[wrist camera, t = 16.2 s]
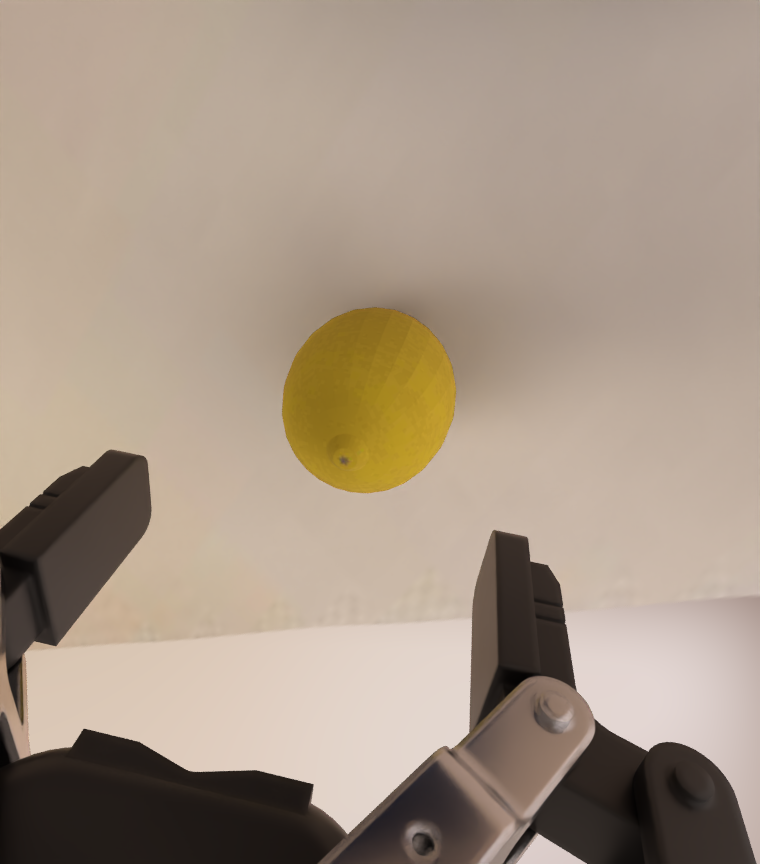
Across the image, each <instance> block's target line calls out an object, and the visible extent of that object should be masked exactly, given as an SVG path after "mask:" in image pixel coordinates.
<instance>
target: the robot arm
mask: <svg viewBox="0 0 760 864" xmlns="http://www.w3.org/2000/svg"><path fill="white" fill-rule="evenodd" d="M150 518H151V497H150V485H149V473H148V463H147V460H146V458H145V457H144V456H141V455H136V454H131V453H126V452H122V451H117V450H109V451H107V452H106V453H104V454H103V455H102V456H101V457H100V458H99V459H98V460H97V461H96V462H95V463H94V464H93V465H91V466H90V467H85V466H82V467H80V468H78V469H75V470H73V471H71V472H69V473H67V474H65V475H63V476H61V477H59V478H58V479H57V480H56V481H55V482H53V483H52V484H51V485H50V486H49V487H48V488H47V489H46V490H44V491H43V494H42V495H41V494H40V495H39V496H38V497H36V498H35V499H34V500H33V501H32V502H31V503H30V506H29V507H28V506H26V507H25V508H24V509H23V510H22V511H21V512H20V513H18V514H17V515H16V516H15V517H14V518H13V519H12V520H10V521H9V522H8V523H7V524H6V525H5V526H4V527H3V528H1V529H0V864H516V863H517V862H518V861H519V859H520V858H521V857H522V855H523V854H524V852H525V851H526V850H527V849H528V847H529V846H530V845H531V843H532V842H533V841H534V839H535V838H536V837H537V835H538V834H540V835H542V836H543V837H545V838H546V839H548V840H550V841H551V842H553V843H555V844H556V845H558V846H559V847H561V848H563V849H564V850H566V851H568V852H569V853H571V854H572V855H574V856H576V857H577V858H579V859H581V860H582V861H584V862H585V863H587V864H756V861H755V858H754V854H753V851H752V848H751V844H750V841H749V838H748V834H747V831H746V828H745V825H744V822H743V818H742V815H741V811H740V808H739V805H738V801H737V798H736V796H735V793H734V790H733V789H732V787H731V785H730V783H729V782H728V780H727V779H726V777H725V776H724V774H723V773H722V772H721V771H720V770H719V769H718V767H717V766H715V765H714V764H713V763H712V762H711V761H710V760H709V759H707V758H706V757H705V756H704V755H702V754H701V753H699V752H697V751H696V750H694V749H692V748H690V747H688V746H685V745H682V744H679V743H673V742H665V743H659V744H657V745H655V746H653V747H652V748H651V749H650V750H649V752H648V751H646V750H644V749H642V748H640V747H638V746H636V745H634V744H633V743H630V742H629V741H627V740H625V739H623V738H621V737H619V736H617V735H616V734H614V733H612V732H610V731H609V730H607V729H606V728H605V727H603V726H602V725H601V724H600V723H598V721H596V720H595V719H594V717H593V714H592V711H591V710H590V707H589V705H588V704H587V702H586V701H585V700H584V698H583V697H582V696H581V695H580V694H579V693H578V692H577V690H576V686H575V679H574V673H573V666H572V660H571V654H570V647H569V640H568V634H567V627H566V625H565V614H564V608H562V607H563V601H562V595H561V588H560V584H559V582H558V581H557V579H556V578H555V576H554V574H553V573H552V571H551V570H550V568H549V567H548V565H544V564H539V563H534V562H530V554H529V543H528V538H527V537H525V536H520V535H515V534H510V533H505V532H501V531H496V530H493V532H492V534H491V536H490V539H489V543H488V546H487V549H486V553H485V556H484V559H483V562H482V566H481V569H480V572H479V575H478V579H477V583H476V587H475V592H474V599H473V611H472V650H471V689H470V690H471V691H470V692H471V693H470V729H469V732H470V733H469V734H468V735H467V736H466V737H465V738H464V739H463V740H462V741H461V742H460V743H459V744H458V745H457V746H455V747H454V748H452V749H449V748H448V747H447V746H444V747H442V748H440V749H438V750H437V751H436V752H434V753H433V754H432V755H431V756H430V757H429V758H428V759H427V760H426V761H425V762H423V763H422V764H421V765H420V766H419V767H418V768H417V769H416V770H415V771H414V772H413V773H412V774H411V775H410V776H409V777H408V778H407V779H406V780H405V781H404V782H402V783H401V784H400V785H399V786H398V787H397V788H396V789H395V790H394V791H393V792H392V793H391V794H390V795H389V796H388V797H387V798H386V799H385V800H384V801H383V802H382V803H381V804H379V806H377V807H376V808H375V809H374V810H373V811H372V812H371V813H370V814H369V815H368V816H367V817H366V818H365V819H364V820H363V821H362V822H360V824H358V825H357V826H356V827H355V828H354V829H353V830H352V831H351V832H350V833H349V834H348V835H347V833H346V832H345V831H344V830H343V829H342V828H341V826H340V825H339V824H338V823H337V822H336V821H335V820H334V819H333V818H331V817H330V816H329V815H328V814H326V813H325V812H324V811H322V810H321V809H319V808H318V807H316V806H314V805H313V804H311V799H312V792H313V784H310V783H306V782H302V781H298V780H294V779H289V778H285V777H281V776H276V775H273V774H269V773H265V772H260V771H257V770H252V771H218V772H191V771H188V770H186V769H184V768H182V767H180V766H179V765H177V764H175V763H174V762H172V761H170V760H168V759H167V758H165V757H163V756H162V755H160V754H158V753H157V752H155V751H153V750H152V749H150V748H148V747H146V746H145V745H143V744H141V743H140V742H137V741H133V740H129V739H124V738H120V737H116V736H112V735H108V734H104V733H99V732H96V731H91V730H87V729H83V731H82V732H81V734H80V736H79V737H78V739H77V740H76V742H75V743H74V745H73V746H72V747H70V748H60V749H54V750H48V751H45V752H41V753H37V754H33V755H31V753H30V745H29V733H28V707H27V680H26V660H25V655H24V653H25V651H26V650H27V649H28V648H29V647H30V645H31V644H32V643H33V642H34V641H36V642H40V643H44V644H49V645H53V646H57V644H58V643H59V642H60V640H61V639H62V638H63V637H64V635H65V634H66V633H67V632H68V630H69V629H70V628H71V626H72V625H73V624H74V623H75V621H76V620H77V619H78V618H79V616H80V615H81V614H82V612H83V611H84V610H85V609H86V607H87V606H88V605H89V604H90V602H91V601H92V600H93V599H94V597H95V596H96V595H97V593H98V592H99V591H100V590H101V588H102V587H103V586H104V585H105V583H106V582H107V581H108V579H109V578H110V577H111V576H112V574H113V573H114V572H115V571H116V569H117V568H118V567H119V565H120V564H121V563H122V562H123V560H124V559H125V558H126V557H127V555H128V554H129V553H130V551H131V550H132V549H133V548H134V546H135V545H136V544H137V543H138V541H139V540H140V539H141V538H142V536H143V535H144V533H145V531H146V529H147V527H148V525H149V522H150Z"/></svg>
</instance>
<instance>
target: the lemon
mask: <svg viewBox="0 0 760 864" xmlns="http://www.w3.org/2000/svg"><path fill="white" fill-rule="evenodd" d="M455 397H456V386H455V380H454V375H453V369H452V365H451V362H450V360H449V358H448V356H447V354H446V352H445V350H444V348H443V345H442V344H441V343H440V342H439V340H438V339H437V338H436V337H435V336H434V334H433V333H432V332H431V331H430V330H429V329H428V328H427V327H426V326H424V325H423V324H422V323H420V322H419V321H417V320H416V319H415V318H413V317H411V316H409V315H406V314H404V313H401V312H399V311H396V310H391V309H384V308H377V307H374V308H365V309H356V310H352V311H350V312H347V313H344V314H342V315H339V316H337V317H334V318H332V319H331V320H330V321H328V322H327V323H326V324H324V325H323V326H322V327H320V328H319V329H318V330H316V331H315V332H314V333H313V334H312V335H311V336H310V337H309V338H308V340H307V341H306V342H305V344H304V345H303V346H302V348H301V349H300V350H299V351H298V353H297V354H296V356H295V358H294V360H293V363H292V365H291V368H290V371H289V373H288V376H287V379H286V382H285V385H284V393H283V407H282V417H283V422H284V427H285V432H286V437H287V439H288V441H289V443H290V446H291V448H292V450H293V452H294V454H295V455H296V457H297V458H298V459H299V460H300V462H301V463H302V464H303V465H304V467H305V468H306V469H307V470H308V471H309V472H311V473H312V474H313V475H314V476H316V477H317V478H318V479H319V480H321V481H323V482H325V483H327V484H329V485H331V486H333V487H335V488H338V489H342V490H345V491H349V492H358V493H372V492H379V491H385V490H389V489H391V488H394V487H396V486H399V485H401V484H404V483H405V482H407V481H408V480H409V479H411V478H412V477H414V476H415V475H416V474H418V473H419V472H420V471H422V470H423V469H424V468H425V467H426V466H427V464H428V463H429V462H430V460H431V459H432V458H433V457H434V455H435V454H436V453H437V452H438V450H439V449H440V448H441V446H442V444H443V442H444V440H445V437H446V435H447V432H448V430H449V427H450V425H451V422H452V420H453V416H454V407H455Z"/></svg>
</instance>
